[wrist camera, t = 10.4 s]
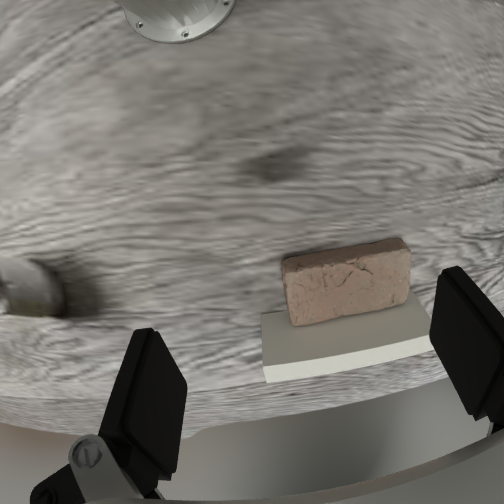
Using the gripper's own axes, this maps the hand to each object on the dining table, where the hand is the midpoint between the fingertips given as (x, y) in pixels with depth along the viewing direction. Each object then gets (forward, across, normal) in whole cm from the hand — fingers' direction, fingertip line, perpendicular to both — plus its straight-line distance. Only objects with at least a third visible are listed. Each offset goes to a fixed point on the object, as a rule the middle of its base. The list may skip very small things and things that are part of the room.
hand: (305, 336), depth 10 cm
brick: (+28, -8, +17) cm, 34 cm away
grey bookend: (+27, -6, +25) cm, 38 cm away
